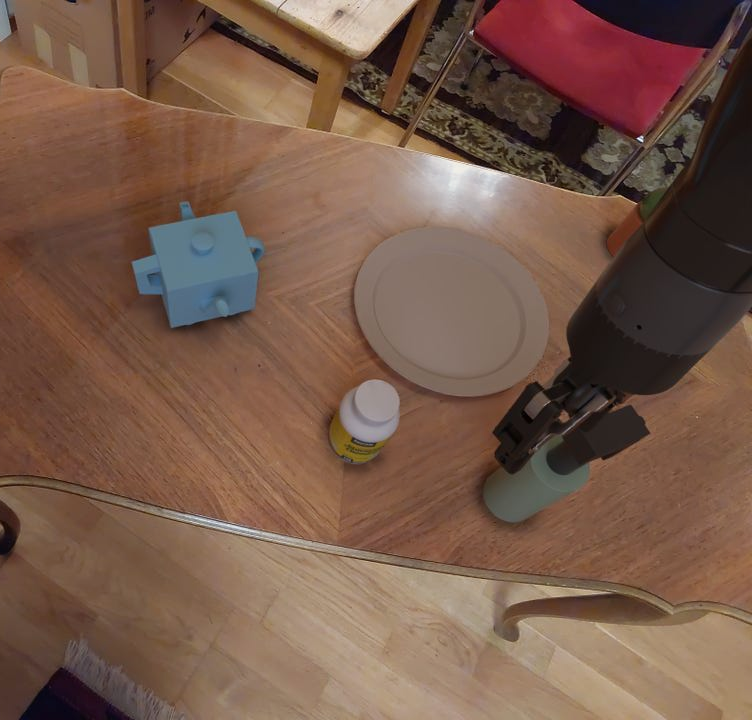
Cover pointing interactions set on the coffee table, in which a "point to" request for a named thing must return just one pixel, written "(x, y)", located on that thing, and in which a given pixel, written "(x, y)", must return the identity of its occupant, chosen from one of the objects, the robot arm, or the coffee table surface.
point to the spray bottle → (560, 466)
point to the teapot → (201, 267)
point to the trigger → (615, 453)
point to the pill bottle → (364, 421)
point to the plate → (451, 311)
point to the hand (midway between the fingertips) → (543, 442)
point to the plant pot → (634, 220)
